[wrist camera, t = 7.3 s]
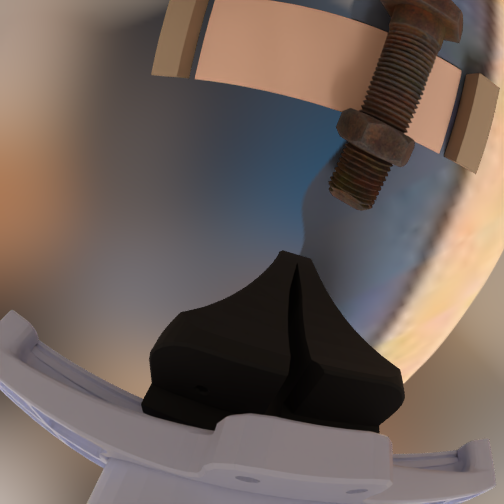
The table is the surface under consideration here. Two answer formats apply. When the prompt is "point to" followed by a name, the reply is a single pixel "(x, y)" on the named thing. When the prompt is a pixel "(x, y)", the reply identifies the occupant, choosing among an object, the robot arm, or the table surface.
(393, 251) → the table surface
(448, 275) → the table surface
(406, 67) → the bolt
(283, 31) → the strip
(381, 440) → the robot arm
